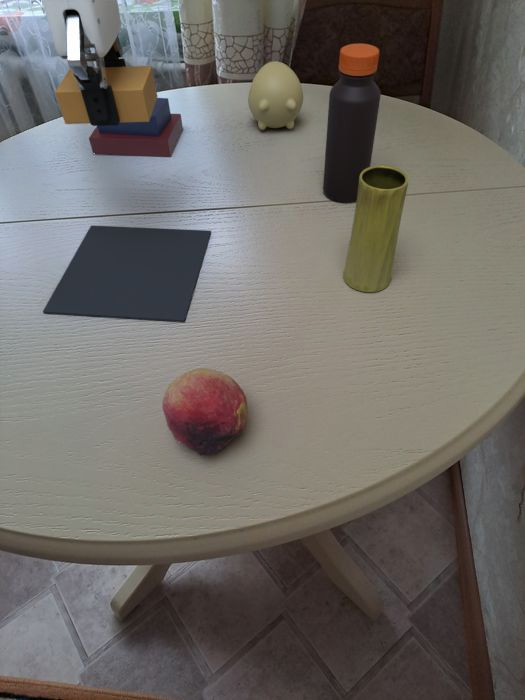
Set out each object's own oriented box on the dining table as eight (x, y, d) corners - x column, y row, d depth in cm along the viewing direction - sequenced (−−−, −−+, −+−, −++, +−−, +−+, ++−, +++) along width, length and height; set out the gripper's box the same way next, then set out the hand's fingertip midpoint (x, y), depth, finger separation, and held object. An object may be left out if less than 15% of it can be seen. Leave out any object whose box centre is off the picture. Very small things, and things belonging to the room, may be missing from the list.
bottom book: (93, 154, 88) (88, 138, 86) (111, 127, 95) (106, 111, 92) (170, 157, 87) (167, 140, 84) (183, 129, 93) (180, 113, 91)
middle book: (99, 133, 87) (93, 112, 84) (114, 114, 91) (109, 94, 89) (159, 136, 85) (155, 116, 83) (171, 118, 90) (168, 97, 87)
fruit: (244, 397, 53) (239, 347, 47) (254, 461, 48) (250, 415, 42) (171, 407, 52) (156, 359, 46) (173, 473, 47) (158, 429, 41)
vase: (390, 295, 63) (413, 194, 52) (341, 291, 63) (354, 190, 52) (390, 264, 66) (411, 164, 56) (344, 260, 67) (356, 161, 56)
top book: (65, 124, 56) (54, 91, 53) (79, 99, 60) (70, 67, 57) (149, 122, 56) (142, 89, 53) (157, 96, 60) (152, 65, 57)
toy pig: (299, 141, 96) (298, 85, 96) (306, 112, 84) (305, 49, 84) (248, 141, 96) (247, 85, 96) (248, 113, 84) (247, 49, 84)
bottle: (373, 200, 76) (395, 56, 61) (330, 207, 75) (343, 63, 60) (357, 177, 81) (375, 38, 65) (317, 183, 80) (325, 43, 65)
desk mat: (43, 313, 62) (42, 311, 62) (91, 227, 74) (91, 225, 74) (184, 322, 61) (184, 320, 60) (211, 232, 72) (211, 230, 72)
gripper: (46, -109, 50) (97, 80, 64) (-18, -74, 39) (60, 147, 52) (120, -113, 50) (155, 78, 63) (78, -78, 39) (131, 145, 52)
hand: (112, 108), depth 58 cm, fingers closed on top book, 6 cm apart
